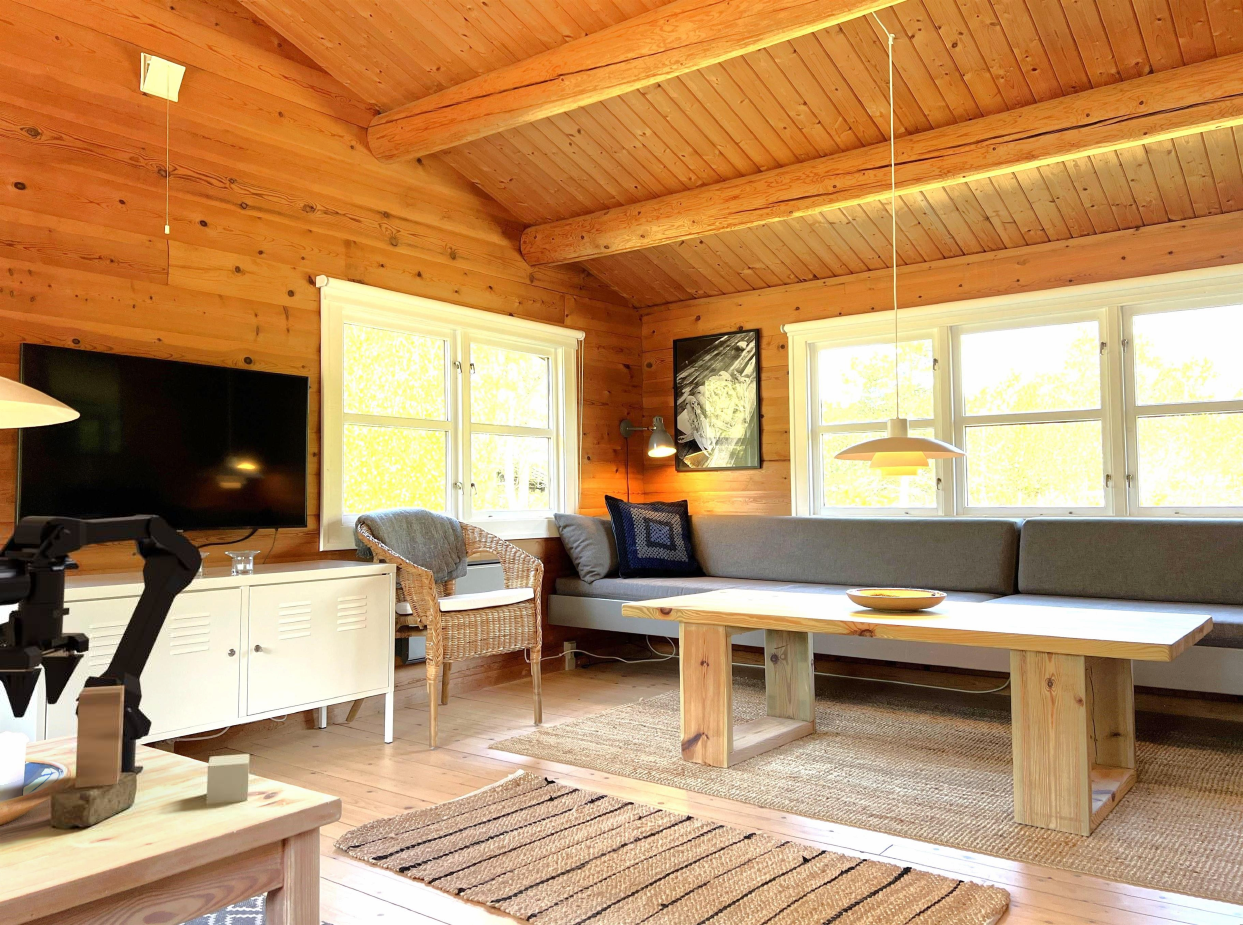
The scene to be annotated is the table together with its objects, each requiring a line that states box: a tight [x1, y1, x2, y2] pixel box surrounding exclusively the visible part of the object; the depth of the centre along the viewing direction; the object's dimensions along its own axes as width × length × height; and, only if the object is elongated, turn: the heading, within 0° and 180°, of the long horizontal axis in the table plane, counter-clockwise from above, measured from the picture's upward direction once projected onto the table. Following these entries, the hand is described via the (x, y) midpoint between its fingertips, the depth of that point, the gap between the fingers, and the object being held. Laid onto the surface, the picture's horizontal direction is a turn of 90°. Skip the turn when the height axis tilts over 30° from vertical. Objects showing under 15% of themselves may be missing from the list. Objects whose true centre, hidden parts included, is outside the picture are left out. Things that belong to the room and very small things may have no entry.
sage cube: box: [206, 753, 250, 805], centre depth 138 cm, size 6×6×6 cm
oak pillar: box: [74, 686, 124, 788], centre depth 129 cm, size 5×5×12 cm
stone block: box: [49, 772, 138, 830], centre depth 129 cm, size 6×12×5 cm, turn 174°
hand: (35, 710), depth 135 cm, fingers open, 9 cm apart
